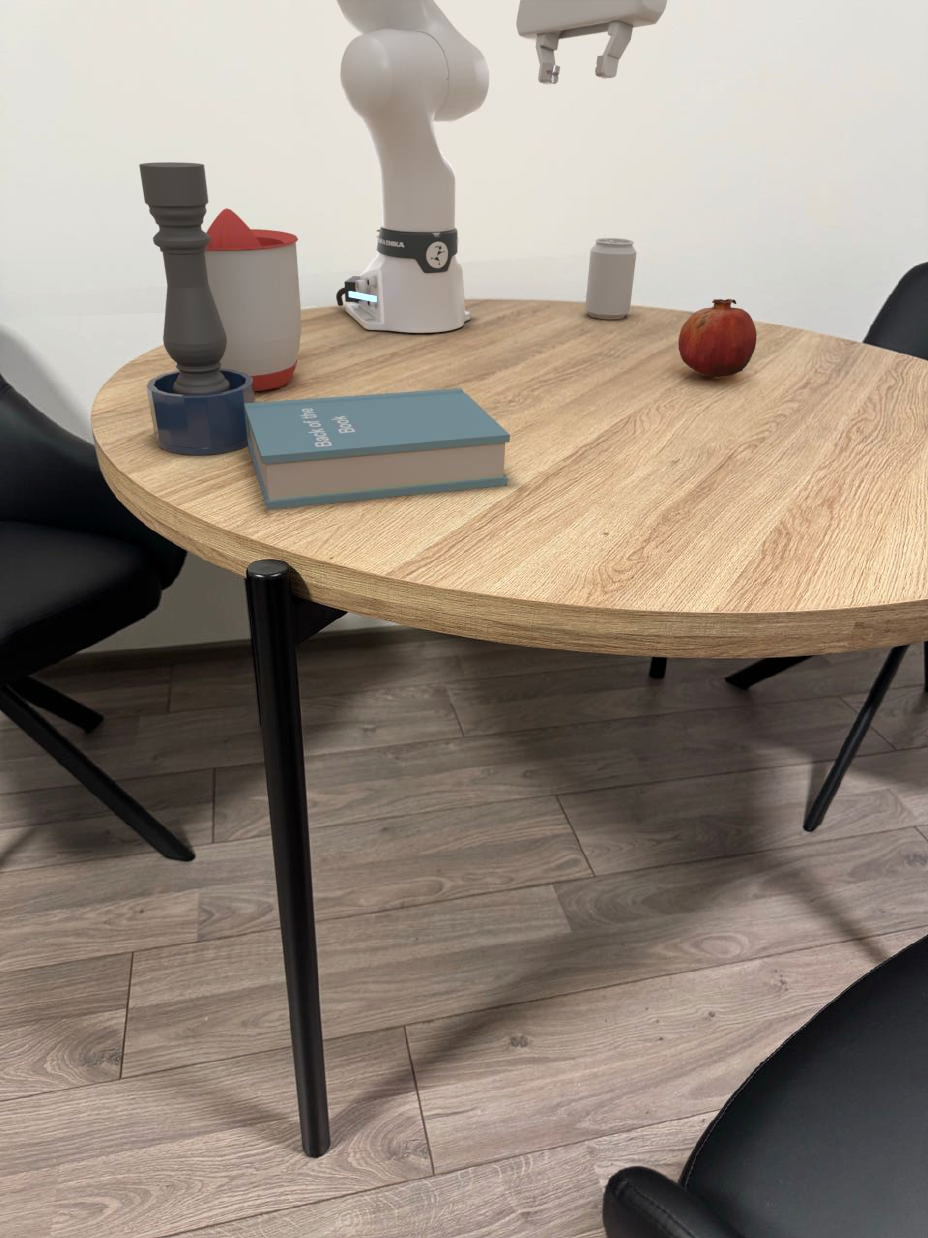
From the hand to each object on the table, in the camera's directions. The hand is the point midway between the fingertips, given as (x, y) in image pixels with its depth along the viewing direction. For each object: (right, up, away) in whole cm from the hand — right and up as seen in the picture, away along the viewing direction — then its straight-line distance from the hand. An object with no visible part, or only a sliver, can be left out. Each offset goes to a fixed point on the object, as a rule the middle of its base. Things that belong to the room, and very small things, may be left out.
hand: (575, 80), depth 96 cm
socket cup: (-39, -40, -3) cm, 56 cm away
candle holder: (-39, -39, -3) cm, 56 cm away
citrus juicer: (-40, -29, +16) cm, 52 cm away
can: (+12, -7, +53) cm, 55 cm away
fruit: (+21, -26, +22) cm, 41 cm away
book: (-21, -44, -9) cm, 50 cm away
